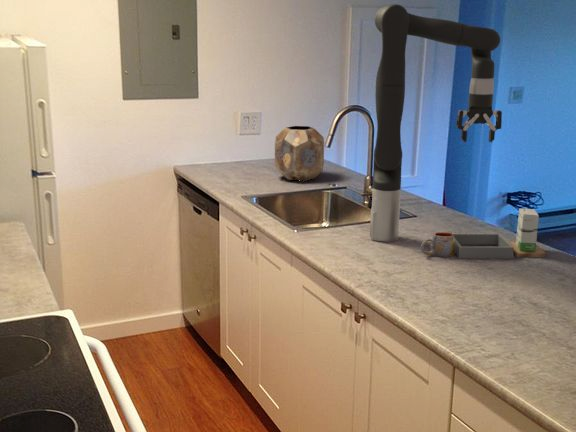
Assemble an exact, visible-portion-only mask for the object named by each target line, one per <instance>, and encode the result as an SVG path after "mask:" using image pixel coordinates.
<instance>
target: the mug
mask: <svg viewBox="0 0 576 432" xmlns="http://www.w3.org/2000/svg"><path fill="white" fill-rule="evenodd" d="M453 234H454V233H451V232H435V233H434V234H433V236H432V238H427V239H424V240H423V241H422V243H421V245H420V251H421V253H422V254H423V255H425V256H429V257H434V256H435V257H442V258H443V257H444V258H446V257H447V258H448V257H451V256H454V255H455V253H454V241H455V240H454V239H453ZM427 242H430V246H429V247H430V251H426V250H425V249H424V247H425V245H426V243H427Z"/></svg>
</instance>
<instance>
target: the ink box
mask: <svg viewBox="0 0 576 432" xmlns="http://www.w3.org/2000/svg"><path fill="white" fill-rule="evenodd" d="M518 210H519V211H518V218H517V227H516V229H517V230H516V237H515V242H516V244H517V246H518V248H519V250H520V251H535V250H536V245H537V237H538V229H539V218H540V215H539V214H538V213H537V211H536V209H534V208H533V209H532V208H522V207H521V208H519V209H518Z"/></svg>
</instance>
